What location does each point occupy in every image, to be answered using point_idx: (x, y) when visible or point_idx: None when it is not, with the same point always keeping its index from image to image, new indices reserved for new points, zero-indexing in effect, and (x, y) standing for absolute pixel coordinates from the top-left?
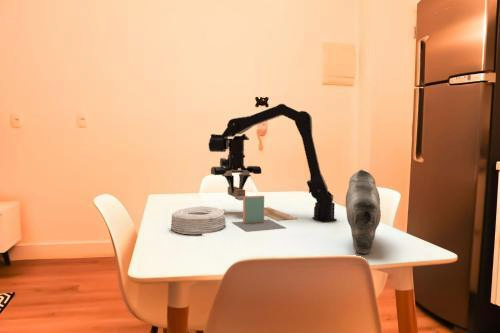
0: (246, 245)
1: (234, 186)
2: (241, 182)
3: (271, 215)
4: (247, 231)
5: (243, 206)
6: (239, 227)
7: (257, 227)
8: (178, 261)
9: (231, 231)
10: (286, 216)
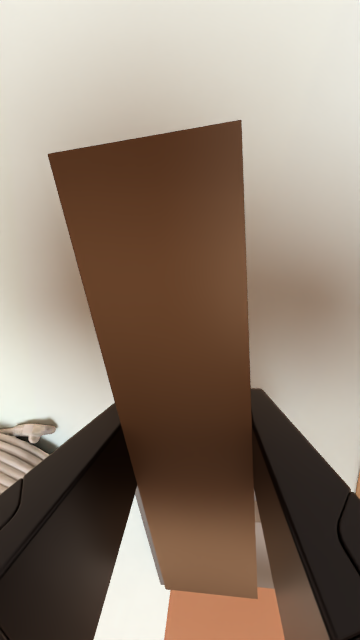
0: (140, 627)
1: (234, 157)
2: (287, 630)
3: None
4: None
5: (169, 603)
6: (151, 547)
7: None
8: None
9: (121, 547)
10: None
